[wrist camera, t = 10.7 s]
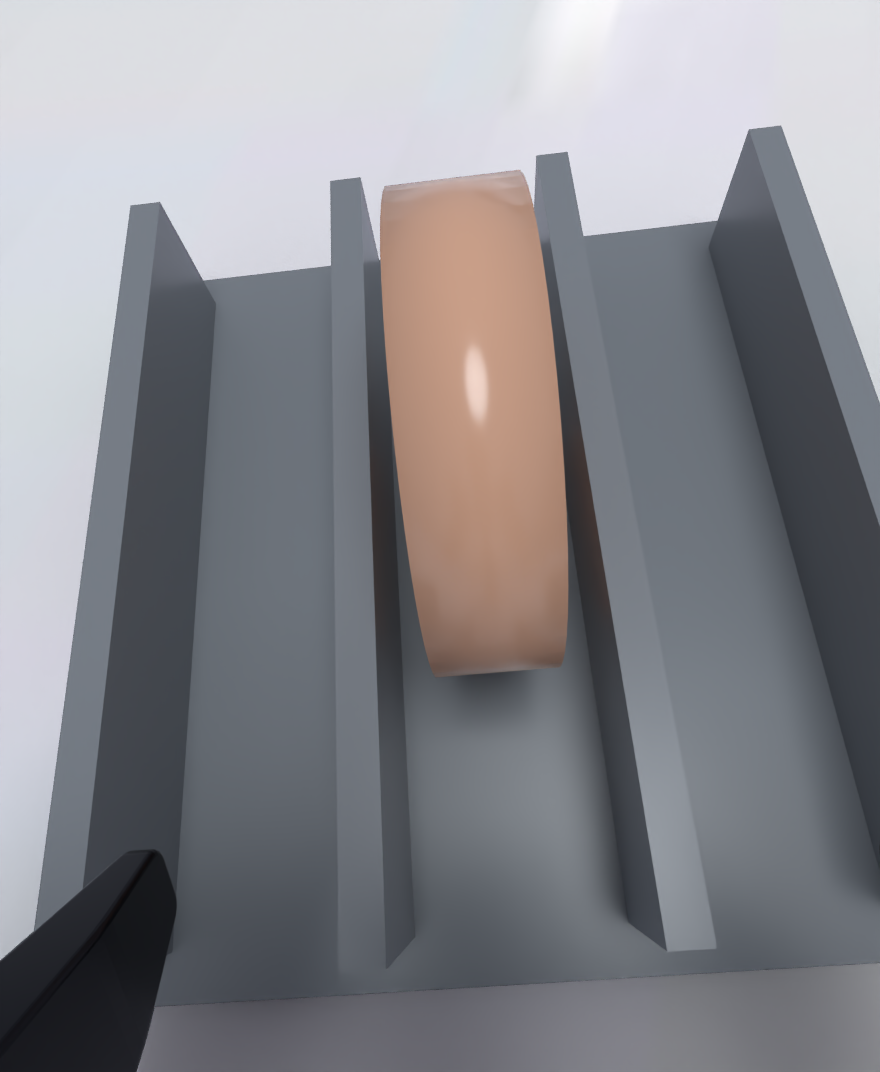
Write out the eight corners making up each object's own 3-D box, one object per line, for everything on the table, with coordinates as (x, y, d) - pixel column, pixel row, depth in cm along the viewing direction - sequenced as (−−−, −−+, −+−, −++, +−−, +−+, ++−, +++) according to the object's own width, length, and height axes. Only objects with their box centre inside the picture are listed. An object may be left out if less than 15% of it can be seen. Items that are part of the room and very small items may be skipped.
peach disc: (567, 710, 17) (636, 568, 8) (433, 721, 17) (350, 595, 8) (525, 391, 21) (541, 35, 11) (414, 403, 21) (340, 61, 12)
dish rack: (972, 949, 15) (1161, 997, 11) (106, 1003, 16) (-42, 1066, 12) (752, 235, 23) (810, 93, 19) (173, 302, 24) (98, 182, 20)
